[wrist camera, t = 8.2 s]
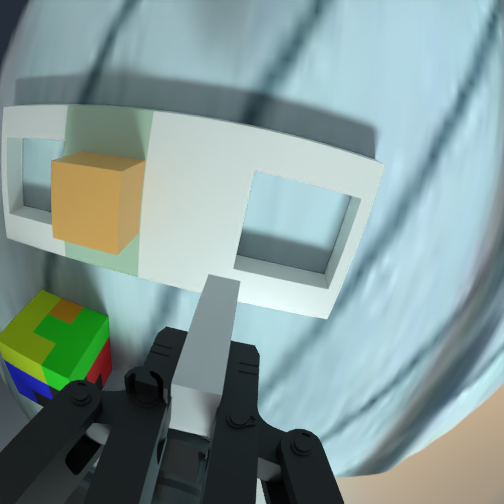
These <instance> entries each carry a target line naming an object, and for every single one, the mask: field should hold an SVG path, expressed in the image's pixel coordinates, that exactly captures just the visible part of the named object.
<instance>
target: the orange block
mask: <svg viewBox="0 0 504 504" xmlns="http://www.w3.org/2000/svg"><path fill="white" fill-rule="evenodd" d="M145 161H146V160H139V159H133V158H127V157H120V156H113V155H106V154H99V153H91V152H84V151H80V152H77V153H74V154H71V155H68V156H65V157H62V158H59V159H56V160H53V161H51V212H52V230H53V238H56V239H59V240H63V241H66V242H70V243H73V244H77V245H81V246H84V247H88V248H92V249H95V250H99V251H103V252H106V253H110V254H114V255H118V254H119V253H120V252H121V251H122V250H123V249H124V248H125V247H126V246H127V245H128V244H129V243H130V242H131V241H132V240H133V239H134V238H135V236H136V235H137V234H138V233H139V221H140V208H141V197H142V187H143V177H144V169H145Z"/></svg>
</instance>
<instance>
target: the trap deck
mask: <svg viewBox="0 0 504 504" xmlns="http://www.w3.org/2000/svg"><path fill="white" fill-rule="evenodd" d="M23 138H36V139H51V140H63V141H64V156H63V157H65V156H68V155H71V154H74V153H77V152H80V151H84V152H91V153H99V154H106V155H113V156H120V157H127V158H133V159H139V160H146V161H145V169H144V177H143V187H142V197H141V208H140V221H139V233H138V234H137V235H136V236H135V238H134V239H133V240H132V241H131V242H130V243H129V244H128V245H127V246H126V247H125V248H124V249H123V250H122V251H121V252H120V253H119V254H118V255H114V254H110V253H106V252H103V251H99V250H95V249H92V248H88V247H84V246H81V245H77V244H73V243H70V242H66V241H63V240H59V239H56V238H53V230H52V212H48V211H44V210H40V209H36V208H31V207H27V206H24V201H23ZM385 166H386V165H385V164H383V163H381V162H380V161H378V160H376V159H373V158H370V157H367V156H364V155H361V154H358V153H355V152H352V151H349V150H346V149H342V148H339V147H336V146H332V145H329V144H326V143H322V142H319V141H315V140H311V139H308V138H304V137H300V136H296V135H293V134H289V133H285V132H280V131H276V130H272V129H268V128H263V127H259V126H254V125H249V124H245V123H240V122H234V121H229V120H224V119H218V118H213V117H207V116H200V115H194V114H187V113H180V112H173V111H165V110H156V109H147V108H137V107H125V106H111V105H92V104H26V105H14V106H7V107H4V109H3V121H2V141H1V174H2V195H3V208H4V218H5V226H6V234H7V238H9V239H12V240H15V241H18V242H21V243H24V244H27V245H30V246H33V247H36V248H39V249H42V250H46V251H49V252H52V253H55V254H59V255H62V256H65V257H68V258H72V259H75V260H78V261H82V262H85V263H89V264H92V265H96V266H99V267H103V268H106V269H110V270H113V271H117V272H121V273H124V274H128V275H132V276H136V277H139V278H143V279H147V280H151V281H155V282H159V283H163V284H166V285H170V286H175V287H179V288H183V289H187V290H191V291H195V292H199V293H202V291H203V288H204V285H205V282H206V280H207V277H208V274H211V275H215V276H220V277H224V278H229V279H233V280H238V281H240V287H239V293H238V299H237V301H239V302H243V303H248V304H253V305H257V306H262V307H267V308H272V309H277V310H282V311H287V312H292V313H297V314H302V315H307V316H313V317H318V318H324V319H328V316H329V314H330V312H331V310H332V307H333V305H334V303H335V301H336V298H337V296H338V294H339V291H340V289H341V287H342V284H343V282H344V279H345V277H346V275H347V272H348V270H349V267H350V265H351V262H352V260H353V257H354V255H355V252H356V249H357V247H358V244H359V241H360V239H361V236H362V233H363V231H364V228H365V225H366V223H367V220H368V217H369V214H370V211H371V208H372V206H373V203H374V200H375V197H376V194H377V191H378V188H379V185H380V182H381V178H382V175H383V172H384V169H385ZM255 171H258V172H262V173H266V174H271V175H275V176H279V177H283V178H287V179H291V180H295V181H299V182H303V183H307V184H311V185H314V186H318V187H322V188H326V189H329V190H333V191H336V192H340V193H343V194H347V195H350V196H351V199H350V202H349V206H348V209H347V212H346V215H345V218H344V220H343V223H342V226H341V229H340V232H339V235H338V238H337V241H336V244H335V246H334V249H333V252H332V255H331V257H330V260H329V263H328V266H327V268H326V271H325V274H321V273H316V272H312V271H307V270H303V269H298V268H294V267H289V266H285V265H280V264H276V263H271V262H267V261H262V260H258V259H253V258H249V257H244V256H240V255H237V250H238V246H239V241H240V237H241V232H242V228H243V223H244V219H245V214H246V210H247V206H248V201H249V197H250V192H251V188H252V183H253V179H254V175H255Z"/></svg>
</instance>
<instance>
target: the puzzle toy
mask: <svg viewBox="0 0 504 504" xmlns="http://www.w3.org/2000/svg"><path fill="white" fill-rule="evenodd" d="M0 351H1V354H2V356H3V359H4V361H5V363H6V366H7V368H8V370H9V372H10V375H11V377H12V379H13V381H14V383H15V385H16V387H17V389H18V391H19V393H21V394H22V395H24V396H26V397H27V398H29V399H31V400H32V401H34V402H36V403H38V404H39V405H41V406H43V407H44V406H45V405H46V404H47V403H48V402H49V401H50V400H51V399H52V398H53V397H54V396H55V395H56V394H57V393H58V392H59V391H60V390H61V389H62V388H63V387H64V386H65V385H67V384H68V383H70V382H71V381H75V380H87V381H89V382H91V383H93V384H94V385H95V386H96V387H98V389H99V391H101V390H102V388H103V386H104V384H105V382H106V380H107V378H108V377H109V375H110V373H111V371H112V366H111V354H110V339H109V319H108V316H106V315H104V314H101V313H98V312H96V311H93V310H90V309H88V308H85V307H83V306H80V305H78V304H75V303H73V302H70V301H68V300H65V299H63V298H60V297H58V296H56V295H53V294H51V293H49V292H46V291H44V290H41V291H40V292H39V293H38V294H37V295H36V296H35V297H34V298H33V299H32V300H31V301H30V302H29V303H28V304H27V305H26V306H25V307H24V308H23V309H22V310H21V311H20V312H19V314H18V315H17V316H16V317H15V318H14V319H13V320H12V321H11V322H10V323H9V324H8V326H7V327H6V328H5V329H4V330H3V331H2V332H1V333H0Z"/></svg>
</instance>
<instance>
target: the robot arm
mask: <svg viewBox="0 0 504 504" xmlns="http://www.w3.org/2000/svg"><path fill="white" fill-rule="evenodd" d="M239 287H240V281H238V280H233V279H229V278H224V277H220V276H215V275H211V274H208V277H207V280H206V282H205V285H204V288H203V291H202V294H201V297H200V299H199V302H198V305H197V308H196V311H195V314H194V317H193V320H192V323H191V325H190V328H189V331H188V332H186V331H182V330H178V329H174V328H170V327H165V328H164V329H163V330H161V331H160V332H159V333H158V334H157V336H156V338H155V341H154V343H153V345H152V347H151V349H150V353H149V354H148V356H147V359H146V361H145V363H144V365H143V366H141V367H135V368H133V369H131V370H130V371H128V372H127V374H126V375H125V376H124V378H125V386H126V390H123V391H99V389H98V387H96V386H95V385H94V384H93V383H91V382H89V381H87V380H75V381H71V382H70V383H68V384H67V385H65V386H64V387H63V388H62V389H61V390H60V391H59V392H58V393H57V394H56V395H55V396H54V397H53V398H52V399H51V400H50V401H49V402H48V403H47V404H46V405H45V406H44V407H43V408H42V409H41V410H40V412H39V413H38V414H37V415H36V416H35V417H34V418H33V419H32V420H31V421H30V422H29V423H28V424H27V425H26V426H25V427H24V428H23V429H22V430H21V431H20V432H19V433H18V434H17V435H16V437H14V438H13V439H12V441H11V442H10V443H9V444H8V445H7V446H6V447H5V448H4V449H3V450H2V451H1V452H0V504H255V503H256V486H257V478H259V479H260V480H261V484H262V488H263V492H264V496H265V500H266V504H344V501H343V498H342V496H341V493H340V491H339V488H338V485H337V483H336V480H335V478H334V475H333V472H332V470H331V467H330V464H329V462H328V459H327V457H326V454H325V451H324V449H323V446H322V443H321V442H320V440H319V438H318V437H317V436H316V435H315V434H313V433H312V432H310V431H307V430H305V429H294V430H291V431H288V432H284V431H282V430H279V429H277V428H274V427H272V426H270V425H269V424H267V423H266V422H265V421H264V420H263V419H262V418H261V416H260V415H259V412H258V408H257V401H258V381H259V360H260V355H259V353H258V351H257V349H256V347H255V345H250V344H245V343H240V342H235V341H231V336H232V330H233V324H234V318H235V312H236V305H237V299H238V293H239ZM169 424H170V425H169ZM169 428H173V429H169ZM174 429H177V430H174ZM179 430H181V431H179ZM183 431H185V432H183ZM186 432H189V433H186ZM190 433H194V434H198V435H203V436H208V437H210V442H208V441H207V440H205V439H202V438H200V437H198V436H195V435H193V434H190ZM100 455H101V456H100ZM99 457H100V459H99V461H98V464H97V466H96V467H95V466H93V465H94V463H95V462H96V461H97V459H98V458H99Z"/></svg>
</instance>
